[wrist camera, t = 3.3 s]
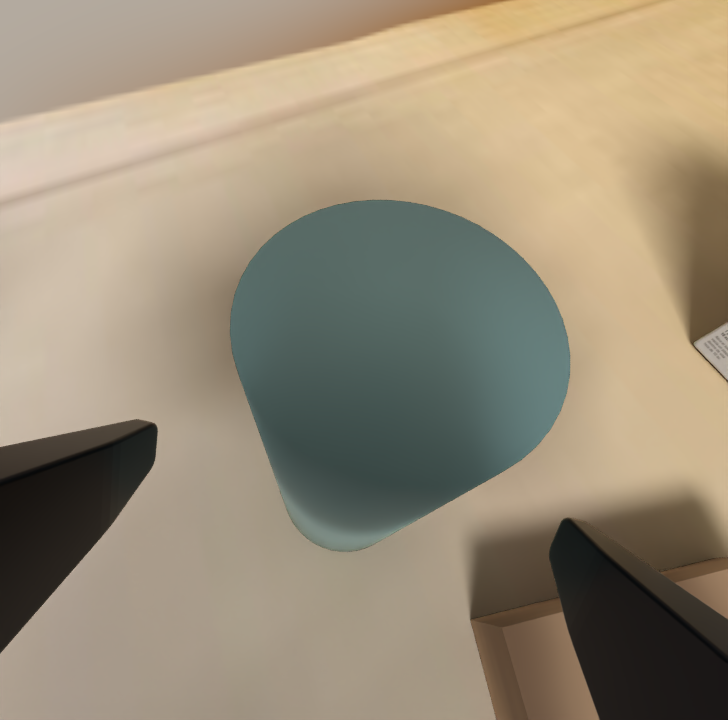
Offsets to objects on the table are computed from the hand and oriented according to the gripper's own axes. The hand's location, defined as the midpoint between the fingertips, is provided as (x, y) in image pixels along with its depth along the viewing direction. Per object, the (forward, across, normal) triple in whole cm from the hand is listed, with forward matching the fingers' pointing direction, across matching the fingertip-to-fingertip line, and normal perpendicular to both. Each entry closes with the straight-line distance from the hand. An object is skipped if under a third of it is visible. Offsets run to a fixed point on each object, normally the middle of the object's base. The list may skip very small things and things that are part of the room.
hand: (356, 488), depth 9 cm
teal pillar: (+8, 0, +5) cm, 10 cm away
